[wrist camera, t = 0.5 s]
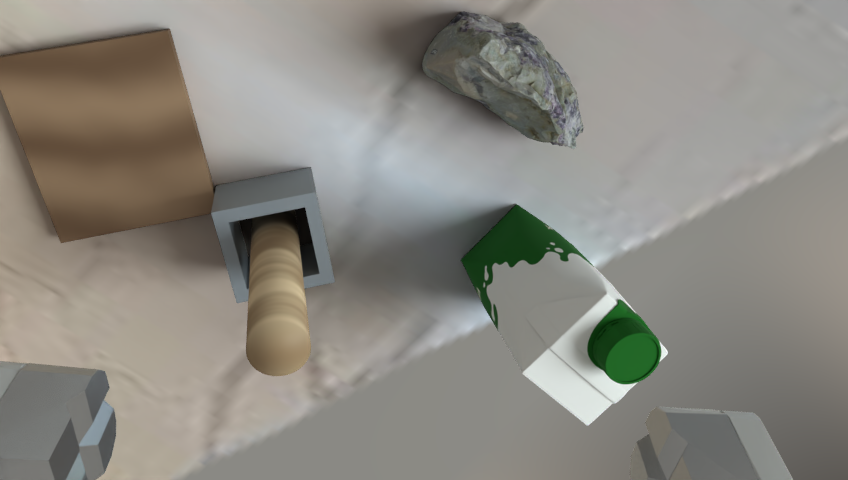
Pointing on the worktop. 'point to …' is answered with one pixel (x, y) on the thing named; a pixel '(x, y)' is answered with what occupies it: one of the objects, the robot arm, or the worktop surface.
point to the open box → (264, 200)
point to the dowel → (276, 297)
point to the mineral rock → (506, 76)
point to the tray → (109, 133)
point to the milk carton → (560, 316)
